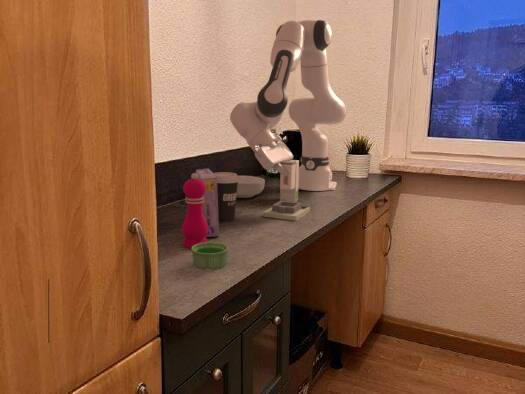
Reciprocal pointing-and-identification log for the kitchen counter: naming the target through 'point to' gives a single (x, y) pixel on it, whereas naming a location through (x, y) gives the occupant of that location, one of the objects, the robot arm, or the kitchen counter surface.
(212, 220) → the cake pan box
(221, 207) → the coffee cup
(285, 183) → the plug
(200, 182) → the pepper mill
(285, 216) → the board
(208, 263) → the ramekin
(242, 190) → the cereal bowl
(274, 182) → the kitchen counter surface
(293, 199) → the skincare box
